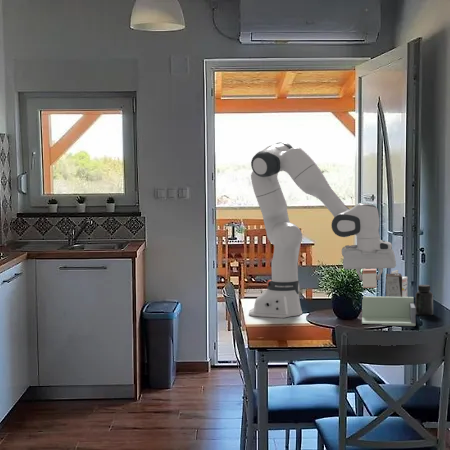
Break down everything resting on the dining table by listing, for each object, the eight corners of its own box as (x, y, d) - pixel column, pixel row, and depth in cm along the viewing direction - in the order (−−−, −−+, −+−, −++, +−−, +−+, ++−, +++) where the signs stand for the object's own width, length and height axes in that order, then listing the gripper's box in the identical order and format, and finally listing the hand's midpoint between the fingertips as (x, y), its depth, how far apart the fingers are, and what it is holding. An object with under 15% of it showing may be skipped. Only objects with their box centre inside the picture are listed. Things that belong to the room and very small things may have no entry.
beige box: (363, 288, 262) (362, 272, 261) (363, 283, 270) (363, 269, 269) (376, 287, 260) (375, 272, 260) (376, 283, 268) (376, 268, 268)
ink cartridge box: (400, 305, 299) (400, 272, 298) (390, 304, 302) (389, 271, 301) (408, 302, 306) (407, 269, 305) (397, 301, 309) (397, 269, 308)
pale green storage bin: (362, 324, 263) (361, 301, 263) (362, 318, 275) (362, 296, 274) (415, 325, 259) (415, 302, 259) (413, 319, 271) (413, 296, 270)
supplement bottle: (426, 312, 284) (426, 283, 283) (436, 315, 278) (436, 286, 277) (412, 313, 282) (412, 284, 281) (422, 316, 275) (422, 287, 274)
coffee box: (402, 315, 279) (402, 276, 278) (386, 315, 280) (386, 276, 279) (401, 310, 288) (401, 273, 287) (385, 310, 289) (385, 273, 288)
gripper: (340, 246, 263) (342, 281, 265) (395, 244, 259) (396, 280, 260) (342, 244, 270) (343, 279, 271) (395, 242, 265) (396, 278, 266)
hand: (370, 279), depth 265 cm, fingers closed on beige box, 5 cm apart
